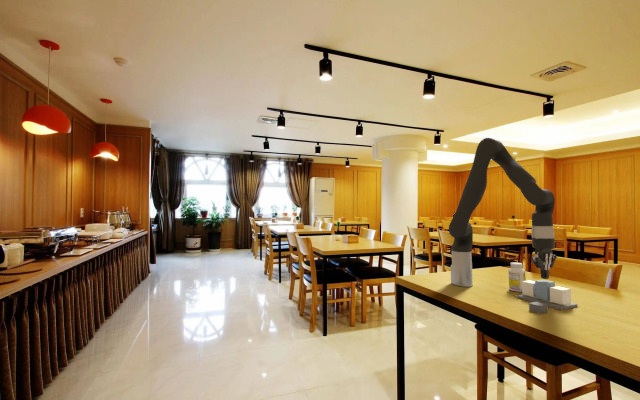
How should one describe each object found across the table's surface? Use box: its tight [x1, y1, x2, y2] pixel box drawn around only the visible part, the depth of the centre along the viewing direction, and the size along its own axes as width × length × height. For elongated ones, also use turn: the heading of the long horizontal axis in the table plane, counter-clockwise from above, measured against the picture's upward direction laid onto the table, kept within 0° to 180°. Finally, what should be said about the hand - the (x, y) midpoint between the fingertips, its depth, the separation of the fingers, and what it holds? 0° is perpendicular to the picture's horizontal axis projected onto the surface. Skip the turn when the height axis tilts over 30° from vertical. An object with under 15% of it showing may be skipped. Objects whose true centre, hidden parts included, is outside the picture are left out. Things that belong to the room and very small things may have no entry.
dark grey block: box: [528, 301, 549, 315], centre depth 109 cm, size 4×4×3 cm
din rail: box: [516, 279, 579, 311], centre depth 119 cm, size 17×10×7 cm, turn 20°
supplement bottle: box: [507, 261, 527, 293], centre depth 136 cm, size 7×7×13 cm
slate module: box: [534, 279, 556, 301], centre depth 119 cm, size 4×5×7 cm
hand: (544, 278), depth 119 cm, fingers closed
